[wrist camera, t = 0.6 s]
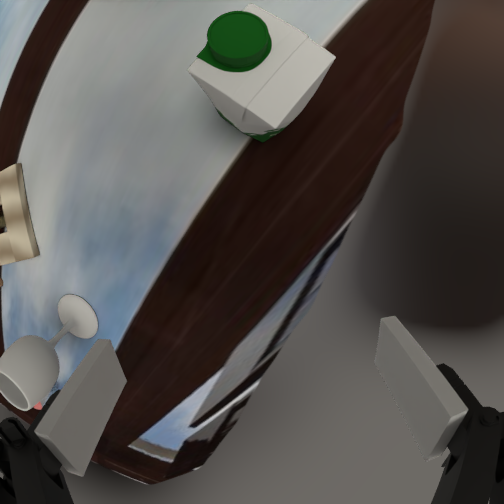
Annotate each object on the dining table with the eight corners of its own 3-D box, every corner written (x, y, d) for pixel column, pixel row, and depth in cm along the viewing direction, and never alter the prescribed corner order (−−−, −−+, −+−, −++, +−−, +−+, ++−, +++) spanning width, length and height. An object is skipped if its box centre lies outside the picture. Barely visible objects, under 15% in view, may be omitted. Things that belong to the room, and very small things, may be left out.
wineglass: (106, 319, 43) (42, 403, 23) (86, 346, 45) (29, 424, 25) (69, 284, 41) (-10, 351, 21) (52, 313, 43) (-16, 380, 23)
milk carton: (249, 64, 32) (249, -19, 13) (305, 103, 34) (358, 48, 15) (208, 113, 34) (167, 64, 15) (264, 153, 36) (281, 140, 17)
